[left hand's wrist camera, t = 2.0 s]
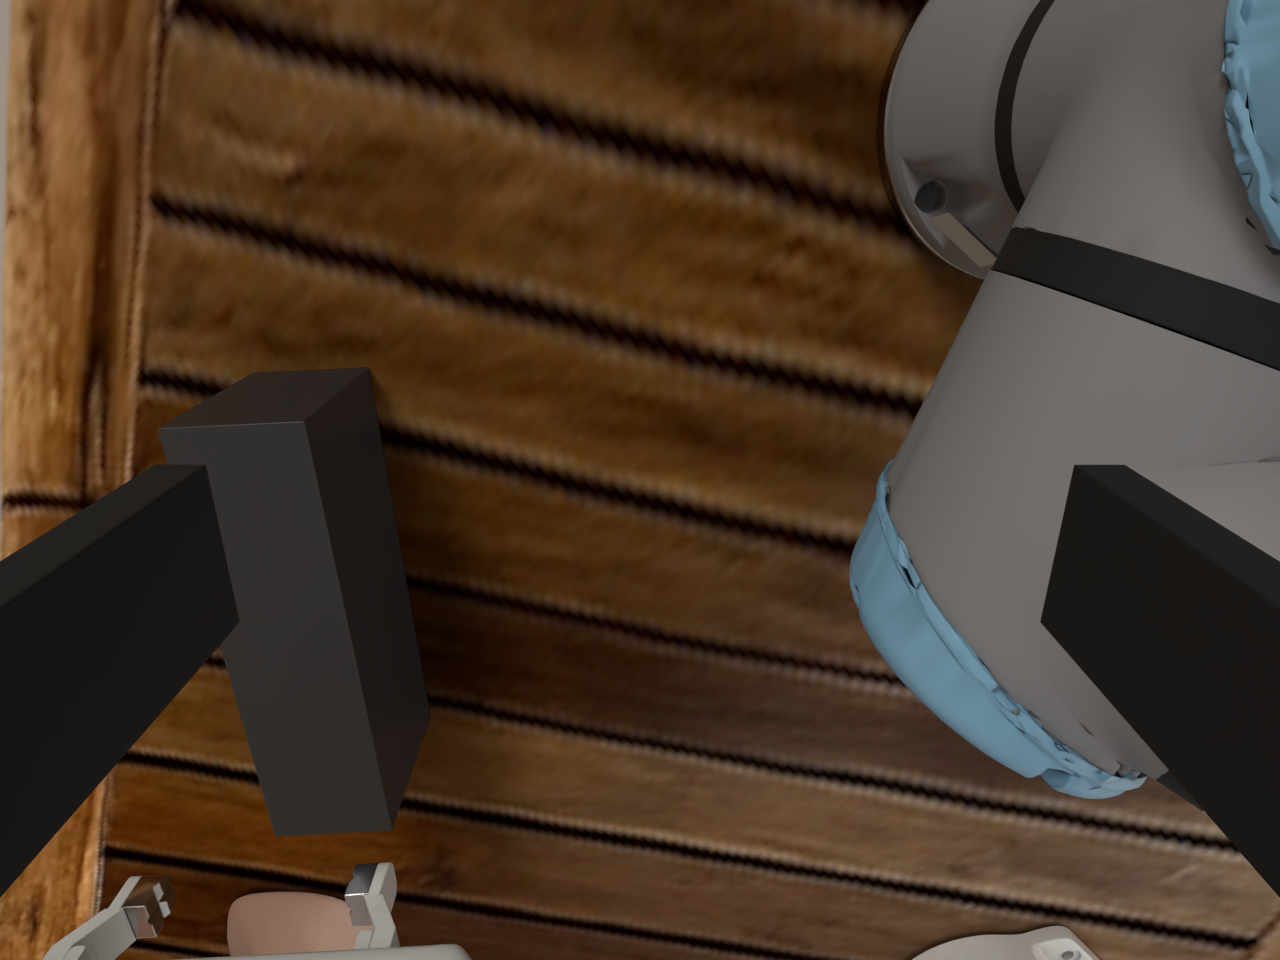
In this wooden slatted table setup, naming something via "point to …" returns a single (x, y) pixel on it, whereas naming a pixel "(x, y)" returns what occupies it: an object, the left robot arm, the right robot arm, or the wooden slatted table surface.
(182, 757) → the wooden slatted table surface
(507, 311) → the wooden slatted table surface
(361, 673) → the box
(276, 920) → the anatomical model
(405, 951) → the right robot arm
